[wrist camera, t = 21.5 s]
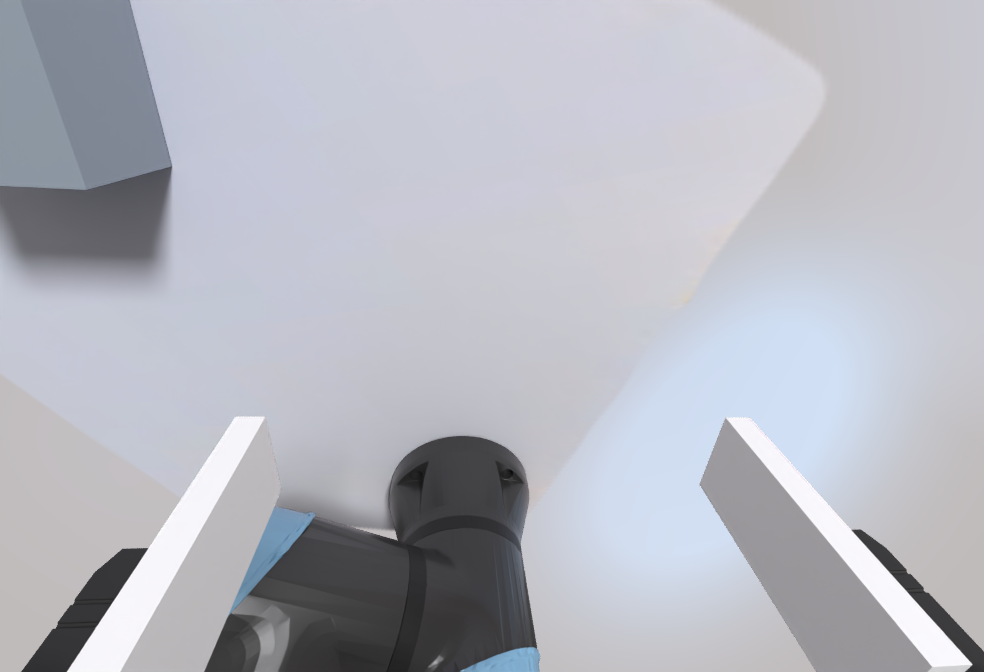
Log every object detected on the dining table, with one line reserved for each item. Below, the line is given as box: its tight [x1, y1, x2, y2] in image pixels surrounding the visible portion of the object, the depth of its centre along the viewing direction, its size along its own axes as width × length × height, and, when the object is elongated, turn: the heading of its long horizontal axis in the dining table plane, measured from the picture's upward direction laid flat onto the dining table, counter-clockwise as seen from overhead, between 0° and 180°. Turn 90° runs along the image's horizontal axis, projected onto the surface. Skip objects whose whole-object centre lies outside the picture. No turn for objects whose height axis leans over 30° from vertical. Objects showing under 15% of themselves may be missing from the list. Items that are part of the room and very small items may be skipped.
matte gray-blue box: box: [0, 0, 172, 190], centre depth 26 cm, size 10×10×9 cm
